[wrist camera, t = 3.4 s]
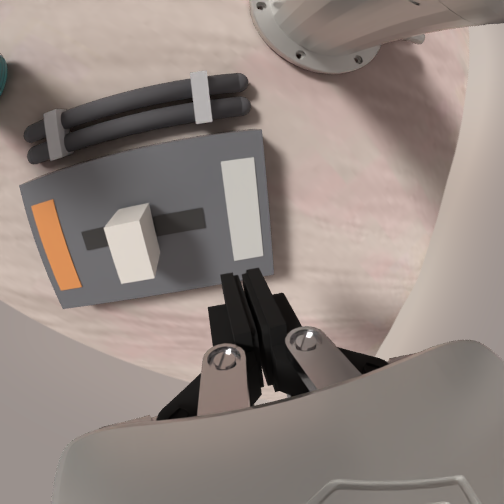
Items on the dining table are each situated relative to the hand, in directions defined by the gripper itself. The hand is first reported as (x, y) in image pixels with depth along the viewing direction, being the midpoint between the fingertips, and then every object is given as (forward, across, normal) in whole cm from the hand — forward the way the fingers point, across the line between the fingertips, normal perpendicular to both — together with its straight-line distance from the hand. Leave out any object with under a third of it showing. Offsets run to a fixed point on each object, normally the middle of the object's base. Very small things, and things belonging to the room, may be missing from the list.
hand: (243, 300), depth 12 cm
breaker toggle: (+10, +6, -1) cm, 12 cm away
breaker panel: (+14, +6, -1) cm, 15 cm away
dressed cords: (+14, +6, -10) cm, 18 cm away
